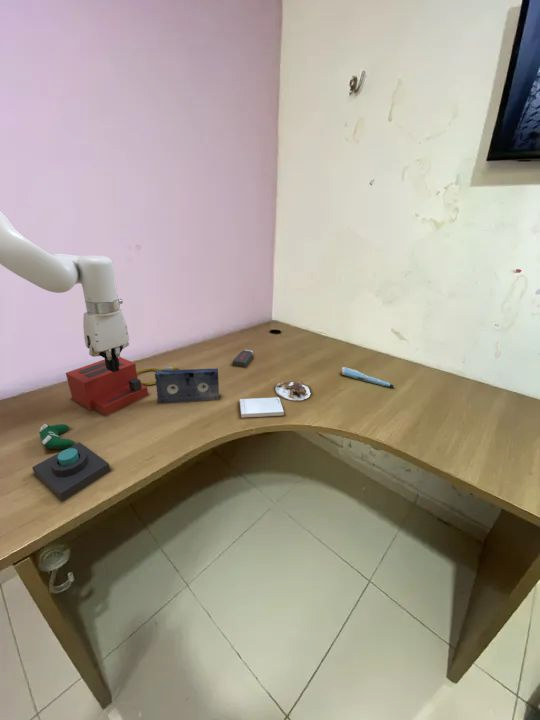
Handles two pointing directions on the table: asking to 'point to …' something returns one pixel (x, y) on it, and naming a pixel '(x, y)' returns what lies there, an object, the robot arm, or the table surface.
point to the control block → (71, 472)
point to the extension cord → (156, 370)
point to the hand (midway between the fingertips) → (113, 370)
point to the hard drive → (261, 407)
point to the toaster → (104, 386)
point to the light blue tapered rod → (364, 377)
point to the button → (68, 457)
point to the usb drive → (243, 358)
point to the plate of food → (292, 390)
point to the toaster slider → (135, 384)
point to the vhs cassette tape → (187, 385)
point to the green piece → (54, 436)
